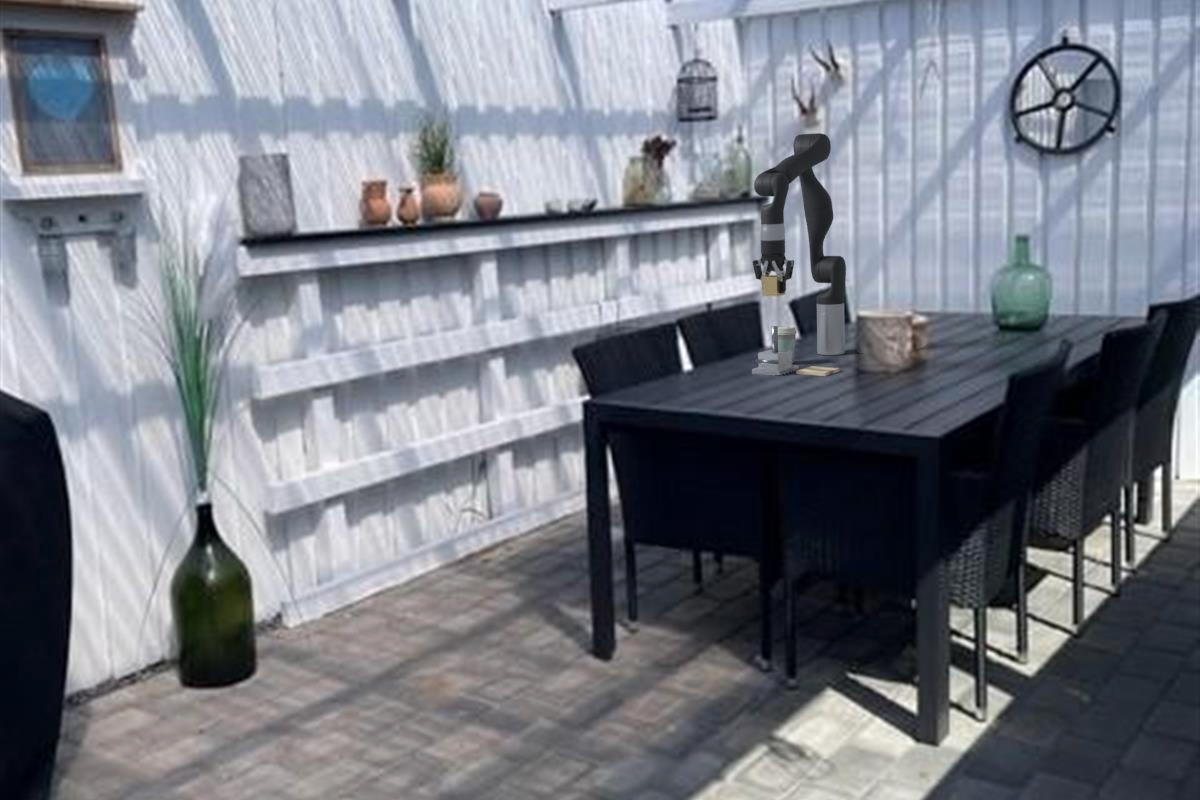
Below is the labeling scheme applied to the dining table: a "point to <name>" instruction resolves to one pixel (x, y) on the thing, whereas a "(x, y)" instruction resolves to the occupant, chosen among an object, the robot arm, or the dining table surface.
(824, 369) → the beige pad
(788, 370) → the block
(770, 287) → the collar
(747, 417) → the dining table surface
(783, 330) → the coffee cup
